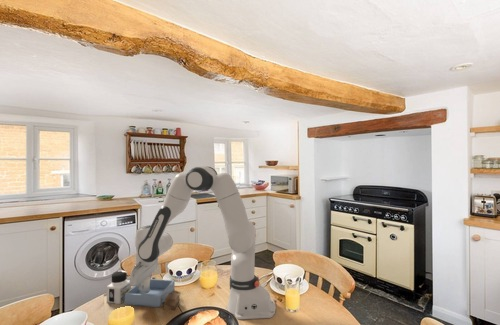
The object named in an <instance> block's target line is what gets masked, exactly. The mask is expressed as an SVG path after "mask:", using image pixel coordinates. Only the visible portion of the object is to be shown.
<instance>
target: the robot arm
mask: <svg viewBox="0 0 500 325" xmlns="http://www.w3.org/2000/svg"><path fill="white" fill-rule="evenodd" d="M217 172H218V171H217V170H216V169H214V168H213V167H211V166H195V167H193V168H191V169H189V171H187V173H184V172H180V173H178V174H176V175H175V177H174V178H173V180H172V181H171V183H170V185H169V188H168V190H167V192H166V194H165V198H164V200H163V201H162V203H161V206H160V208H159V210H158V211H157V213H156V215H155V217H154V219H153V221H152V223H151V224H150V225H145V226H141V227H139V228H138V229H137V230H136V232H135V238H134V240H135V241H134V246H135V252H134V265H133V268H132V269H131V271H130V274H129V276H130V277H129V280H130V286H131V287H134V286H138V287H139V290H142V289H143V288H144V285H142V283H143V281H144V280H145V279H146V278H147V277H148V276H150V279H152V276H153V273H154V272H155V271H156V270H157V269H158V267H159V257H160V256H162V255H163V254H165V253H167V252H168V251H169V250H170V249H171V248H172V247H173V244H174V243H173V242H174V241H173V238H172V236H171V235H170V234H169V233H168V232H165V230H166V228H167V227H168V225H169V223H171V221H172V220H174V219H175V218H176V217H177V216H179V215H180V214H181V213H183V212H184V211H185V209H186V208H187V206H188V204H189V201H190V199H191V196H192V193H193V192H194V191H196V192H197V191H199V192H203V191H210V190H211V191H212V193H213V194H214V197H215V199H216V202H217V204H218V207H219V209H220V213H221V215H222V218H223V223H224V227H225V230H226V234H227V238H228V244H229V247H230V249H231V257H230V276H229V290H230V291H229V297H228V301H227V304H226V308H227V310H228V312H229V313H230V314H232V315H233V316H235V318H236V319H237V320H255V319H256V320H257V319H271V318H273V317H274V316H275V315H276V314H275V313H276V309H277V308H276V306H277V305H276V302H275V301H274V299H273V298H271V294H270V291H269V290H268V289H267V288H265V287H264V286H263V285H261V284H260V279H259V276H256V275H255V270H256V269H255V266H256V265H255V262H256V260H255V258H256V257H255V256H256V226H255V225H254V223H253V222H252V221H251V220H249V218H248V215H247V211H246V206H245V204H244V201H243V199H242V196H241V194H240V192H239V189H238V186H237V184H236V182H235V181H234V179H233V178H232V176H231V175H230V174H229V173H226V172H222V173H219V174H218V173H217Z"/></svg>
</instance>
